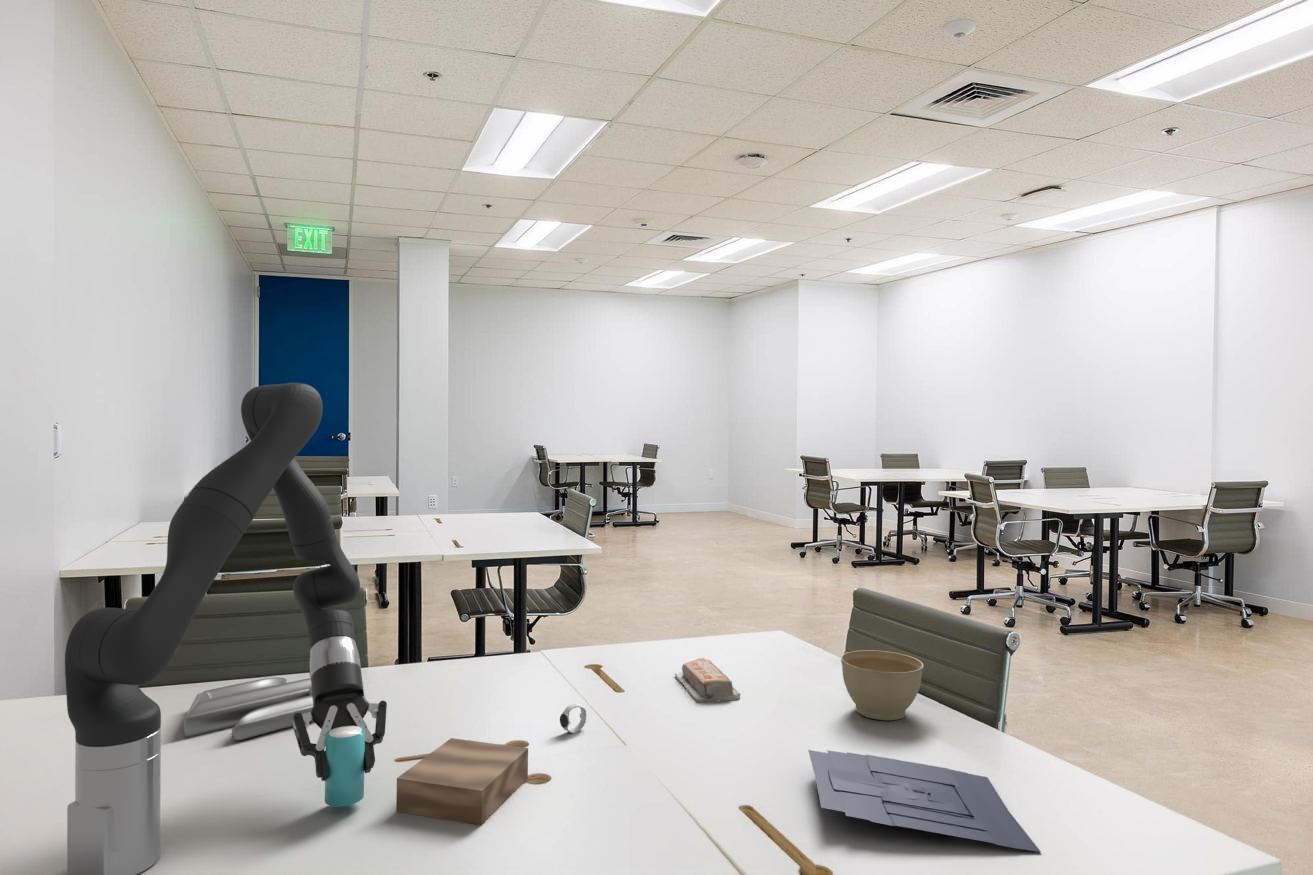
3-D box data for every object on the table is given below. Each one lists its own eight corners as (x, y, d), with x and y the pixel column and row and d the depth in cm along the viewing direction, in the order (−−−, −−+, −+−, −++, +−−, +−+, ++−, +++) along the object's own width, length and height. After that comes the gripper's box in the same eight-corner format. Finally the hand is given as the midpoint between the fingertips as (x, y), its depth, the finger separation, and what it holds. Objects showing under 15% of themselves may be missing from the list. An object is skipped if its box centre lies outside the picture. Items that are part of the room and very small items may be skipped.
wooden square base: (481, 825, 116) (482, 790, 116) (396, 811, 120) (396, 778, 120) (527, 778, 132) (528, 748, 132) (450, 767, 135) (451, 737, 135)
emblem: (248, 662, 175) (364, 673, 169) (248, 687, 175) (364, 698, 169) (141, 707, 147) (276, 720, 142) (141, 736, 148) (276, 750, 142)
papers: (804, 761, 138) (807, 740, 137) (984, 792, 135) (987, 771, 135) (819, 832, 113) (823, 807, 113) (1039, 872, 111) (1043, 846, 110)
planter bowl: (939, 722, 160) (940, 667, 160) (872, 732, 154) (873, 675, 154) (888, 696, 175) (889, 646, 175) (824, 704, 169) (825, 653, 169)
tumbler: (348, 808, 117) (349, 740, 117) (316, 803, 119) (317, 735, 119) (371, 792, 123) (372, 726, 123) (340, 787, 124) (341, 722, 124)
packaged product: (742, 679, 171) (697, 682, 169) (741, 701, 171) (696, 705, 169) (715, 654, 189) (674, 657, 186) (715, 675, 189) (674, 678, 186)
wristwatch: (558, 732, 151) (559, 706, 151) (579, 726, 155) (579, 700, 155) (568, 737, 149) (568, 710, 149) (589, 730, 153) (589, 704, 153)
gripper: (289, 666, 124) (296, 773, 113) (385, 654, 131) (401, 754, 120) (285, 690, 128) (291, 795, 118) (378, 677, 135) (392, 776, 125)
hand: (347, 774), depth 119 cm, fingers closed on tumbler, 5 cm apart
